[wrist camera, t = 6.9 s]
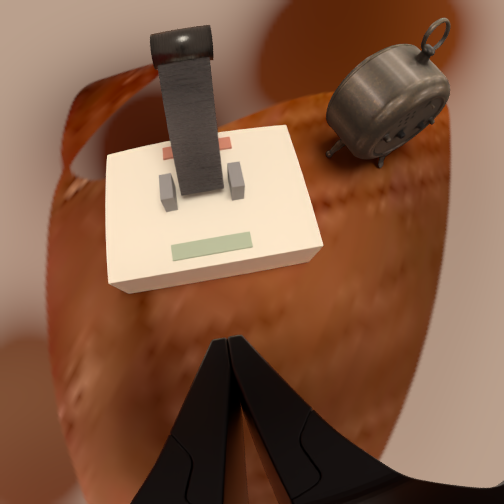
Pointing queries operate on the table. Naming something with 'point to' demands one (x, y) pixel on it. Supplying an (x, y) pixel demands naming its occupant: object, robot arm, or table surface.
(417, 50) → the alarm clock
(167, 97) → the breaker lever
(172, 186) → the switch box
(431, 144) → the table surface
